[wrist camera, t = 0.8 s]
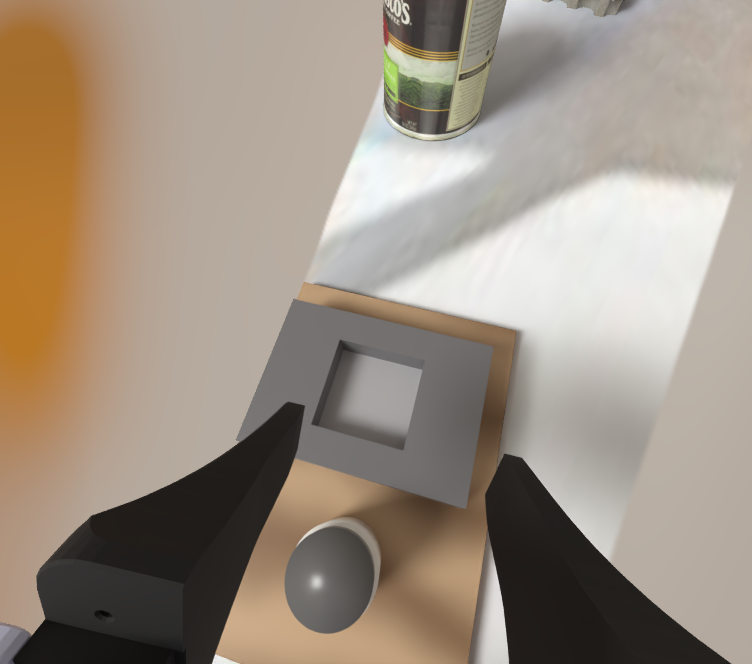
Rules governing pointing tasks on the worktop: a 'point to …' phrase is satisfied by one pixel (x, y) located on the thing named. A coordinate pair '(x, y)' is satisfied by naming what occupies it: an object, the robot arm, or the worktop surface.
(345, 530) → the cylinder
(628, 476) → the worktop surface
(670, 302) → the worktop surface
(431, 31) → the coffee can
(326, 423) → the grey square frame plate
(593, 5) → the egg carton
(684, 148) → the worktop surface
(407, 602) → the board
